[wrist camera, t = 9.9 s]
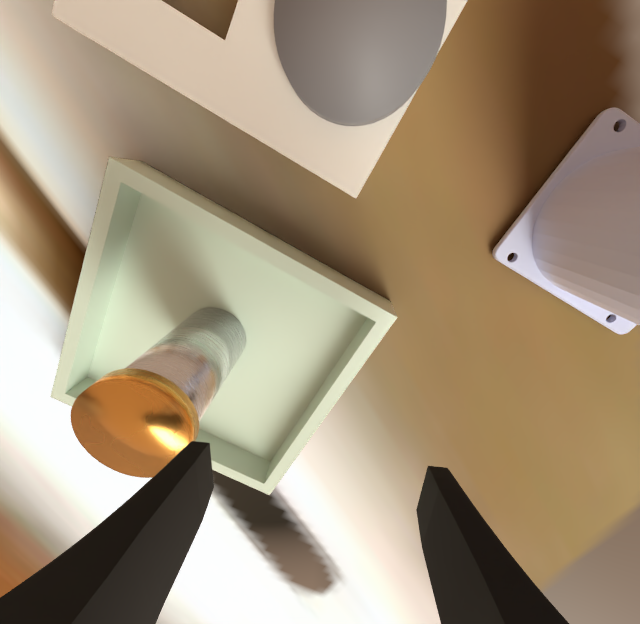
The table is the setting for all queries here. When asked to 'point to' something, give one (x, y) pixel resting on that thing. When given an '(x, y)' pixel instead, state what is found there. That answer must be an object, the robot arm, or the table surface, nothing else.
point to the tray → (228, 294)
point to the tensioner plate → (287, 68)
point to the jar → (159, 395)
